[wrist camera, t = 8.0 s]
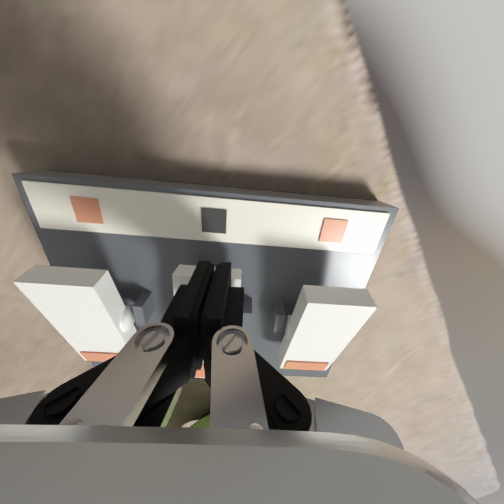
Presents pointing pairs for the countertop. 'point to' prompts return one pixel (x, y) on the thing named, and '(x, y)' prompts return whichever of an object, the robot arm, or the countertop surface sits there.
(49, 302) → the rocker
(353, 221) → the switch unit
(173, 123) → the countertop surface
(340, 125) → the countertop surface
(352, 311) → the block
